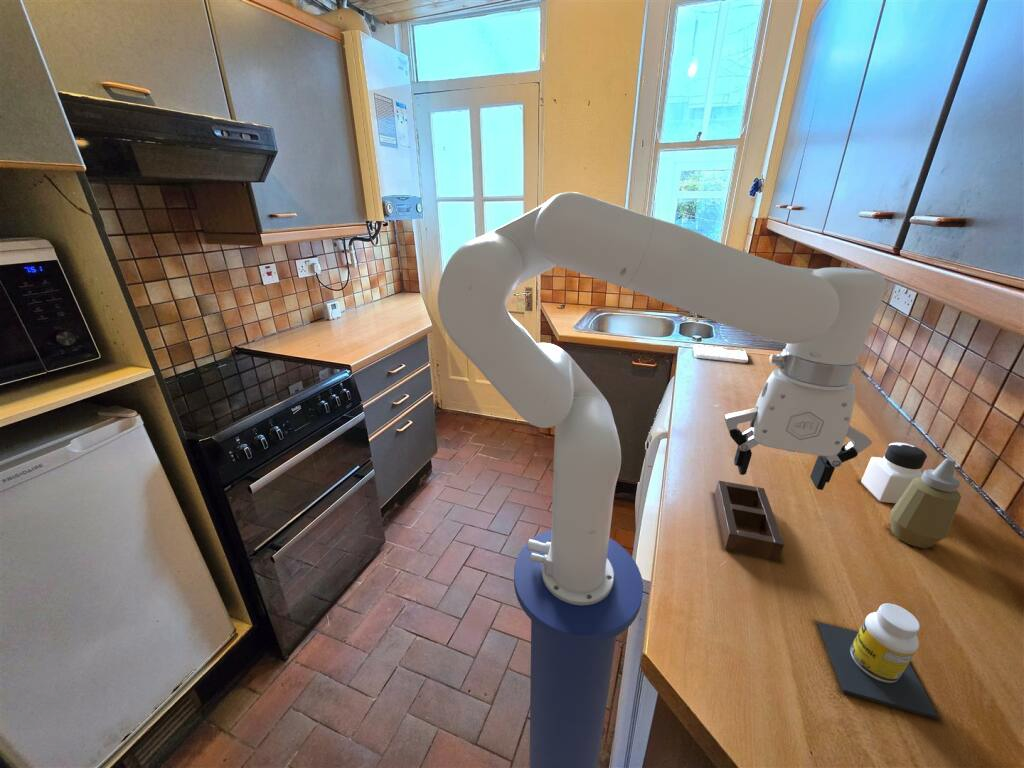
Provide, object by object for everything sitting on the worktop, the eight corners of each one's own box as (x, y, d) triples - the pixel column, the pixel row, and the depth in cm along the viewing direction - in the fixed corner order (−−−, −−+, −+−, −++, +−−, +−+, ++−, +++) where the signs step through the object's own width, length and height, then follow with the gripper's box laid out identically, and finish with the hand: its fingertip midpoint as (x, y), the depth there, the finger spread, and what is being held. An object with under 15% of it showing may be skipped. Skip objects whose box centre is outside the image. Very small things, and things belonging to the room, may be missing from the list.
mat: (842, 692, 54) (844, 690, 54) (817, 624, 63) (818, 621, 62) (936, 719, 51) (938, 716, 51) (896, 644, 60) (898, 641, 59)
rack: (724, 549, 76) (729, 533, 74) (714, 494, 90) (718, 480, 88) (778, 561, 73) (784, 544, 72) (759, 502, 88) (763, 488, 86)
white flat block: (693, 347, 179) (694, 343, 178) (743, 352, 172) (744, 348, 172) (693, 357, 168) (694, 353, 167) (748, 363, 161) (749, 359, 160)
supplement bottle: (842, 639, 60) (865, 593, 56) (887, 650, 58) (914, 604, 54) (858, 677, 55) (884, 629, 51) (907, 690, 54) (938, 642, 49)
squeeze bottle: (924, 559, 74) (969, 478, 66) (873, 528, 80) (909, 452, 73) (949, 545, 76) (995, 467, 69) (898, 517, 83) (935, 443, 76)
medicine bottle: (917, 506, 86) (941, 459, 81) (879, 502, 87) (900, 456, 82) (895, 485, 92) (916, 440, 87) (859, 481, 94) (878, 437, 89)
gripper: (744, 369, 51) (715, 478, 58) (913, 390, 46) (858, 507, 53) (736, 350, 58) (710, 451, 65) (883, 366, 53) (838, 474, 60)
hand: (777, 476), depth 59 cm, fingers open, 9 cm apart
